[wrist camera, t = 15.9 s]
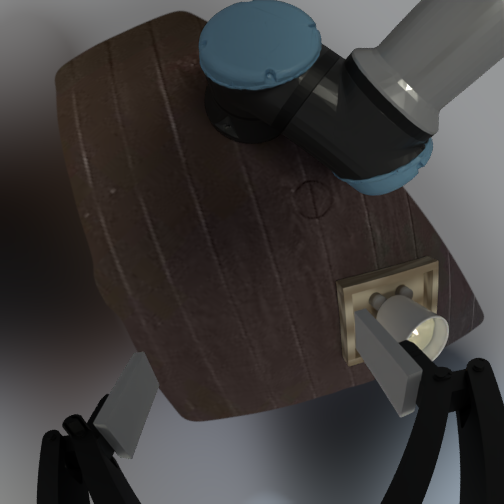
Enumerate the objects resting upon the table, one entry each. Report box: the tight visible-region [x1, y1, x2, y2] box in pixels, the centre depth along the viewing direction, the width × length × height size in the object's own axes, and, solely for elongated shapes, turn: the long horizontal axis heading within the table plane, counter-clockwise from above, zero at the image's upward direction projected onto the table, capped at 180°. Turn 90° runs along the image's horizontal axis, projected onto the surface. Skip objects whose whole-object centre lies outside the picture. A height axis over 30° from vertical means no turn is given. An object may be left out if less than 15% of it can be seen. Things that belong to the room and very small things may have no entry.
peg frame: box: [336, 256, 438, 367], centre depth 48 cm, size 17×21×4 cm
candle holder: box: [376, 295, 449, 361], centre depth 41 cm, size 10×10×12 cm
